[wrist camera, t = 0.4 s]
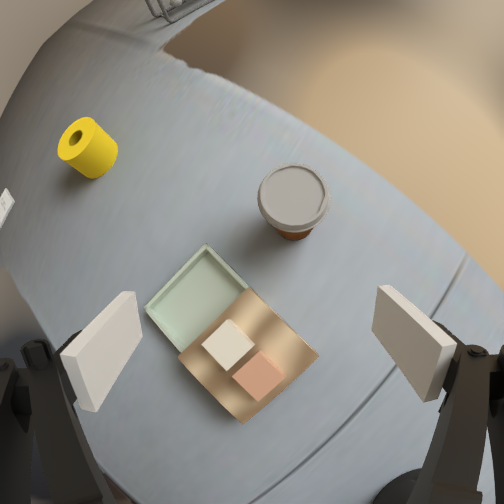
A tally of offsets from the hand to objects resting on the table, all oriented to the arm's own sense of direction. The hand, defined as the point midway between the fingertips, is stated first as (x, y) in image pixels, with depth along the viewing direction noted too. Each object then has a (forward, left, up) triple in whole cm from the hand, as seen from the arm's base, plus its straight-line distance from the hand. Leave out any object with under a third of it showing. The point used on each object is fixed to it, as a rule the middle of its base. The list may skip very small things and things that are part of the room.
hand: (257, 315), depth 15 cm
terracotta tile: (-4, +8, -26) cm, 28 cm away
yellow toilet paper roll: (+50, +5, -32) cm, 59 cm away
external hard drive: (+70, +38, -32) cm, 86 cm away
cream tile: (+2, +8, -26) cm, 28 cm away
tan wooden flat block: (-1, +8, -31) cm, 32 cm away
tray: (+11, +8, -31) cm, 34 cm away
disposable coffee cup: (+9, -12, -32) cm, 35 cm away
